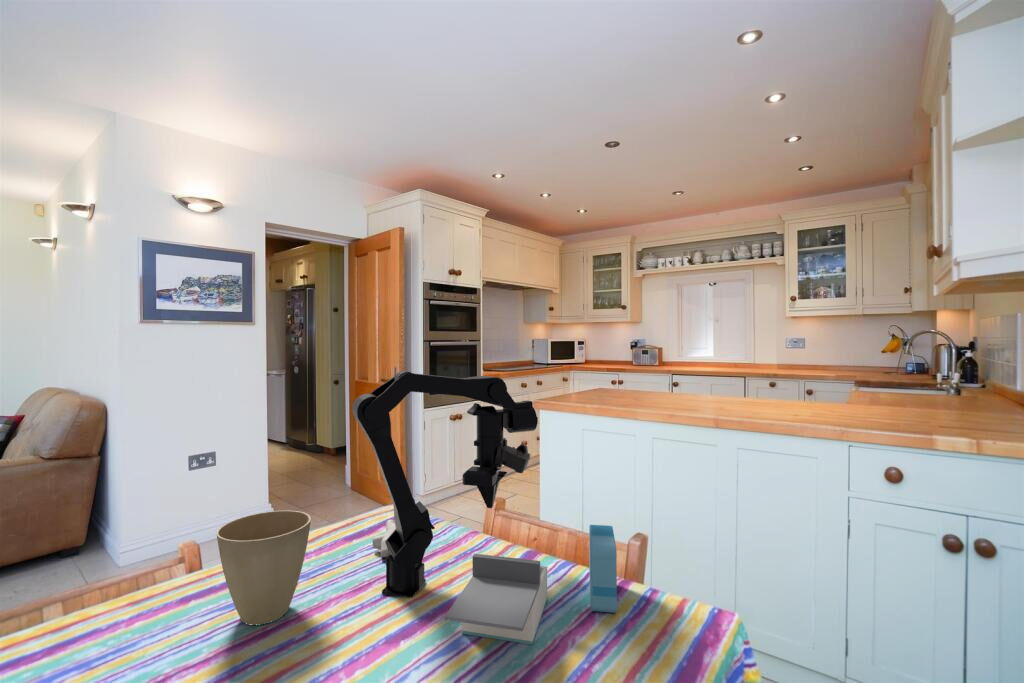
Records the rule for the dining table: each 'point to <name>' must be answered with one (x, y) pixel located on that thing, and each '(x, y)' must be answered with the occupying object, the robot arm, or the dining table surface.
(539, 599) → the box
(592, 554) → the data package
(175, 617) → the dining table surface
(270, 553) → the plant pot
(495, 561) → the lid
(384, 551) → the bunny figurine
